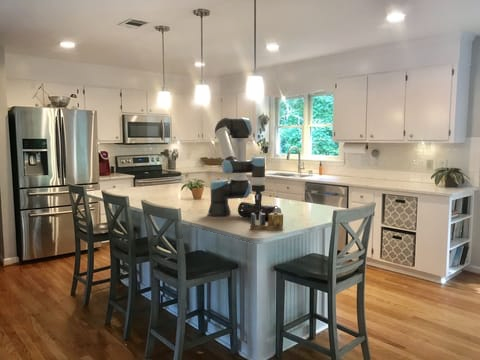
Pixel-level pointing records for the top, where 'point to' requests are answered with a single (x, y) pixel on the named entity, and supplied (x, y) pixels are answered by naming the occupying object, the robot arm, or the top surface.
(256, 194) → the robot arm
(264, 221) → the steel gear
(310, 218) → the top surface
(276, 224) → the gear board
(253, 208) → the muzzle brake
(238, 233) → the top surface
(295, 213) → the top surface
